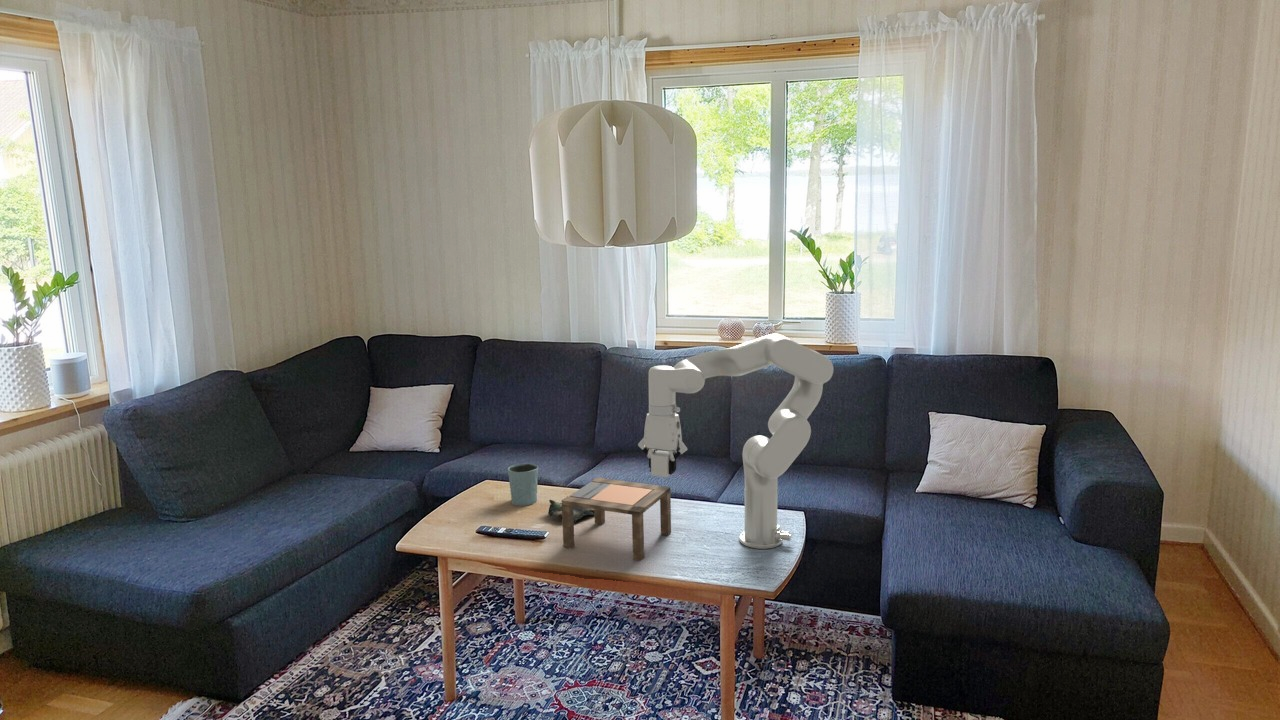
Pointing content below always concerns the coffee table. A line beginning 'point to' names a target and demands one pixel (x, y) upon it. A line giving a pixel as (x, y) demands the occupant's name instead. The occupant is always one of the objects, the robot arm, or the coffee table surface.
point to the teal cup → (523, 483)
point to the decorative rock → (556, 510)
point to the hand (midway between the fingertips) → (662, 471)
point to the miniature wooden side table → (636, 512)
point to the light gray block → (660, 463)
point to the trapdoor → (610, 494)
